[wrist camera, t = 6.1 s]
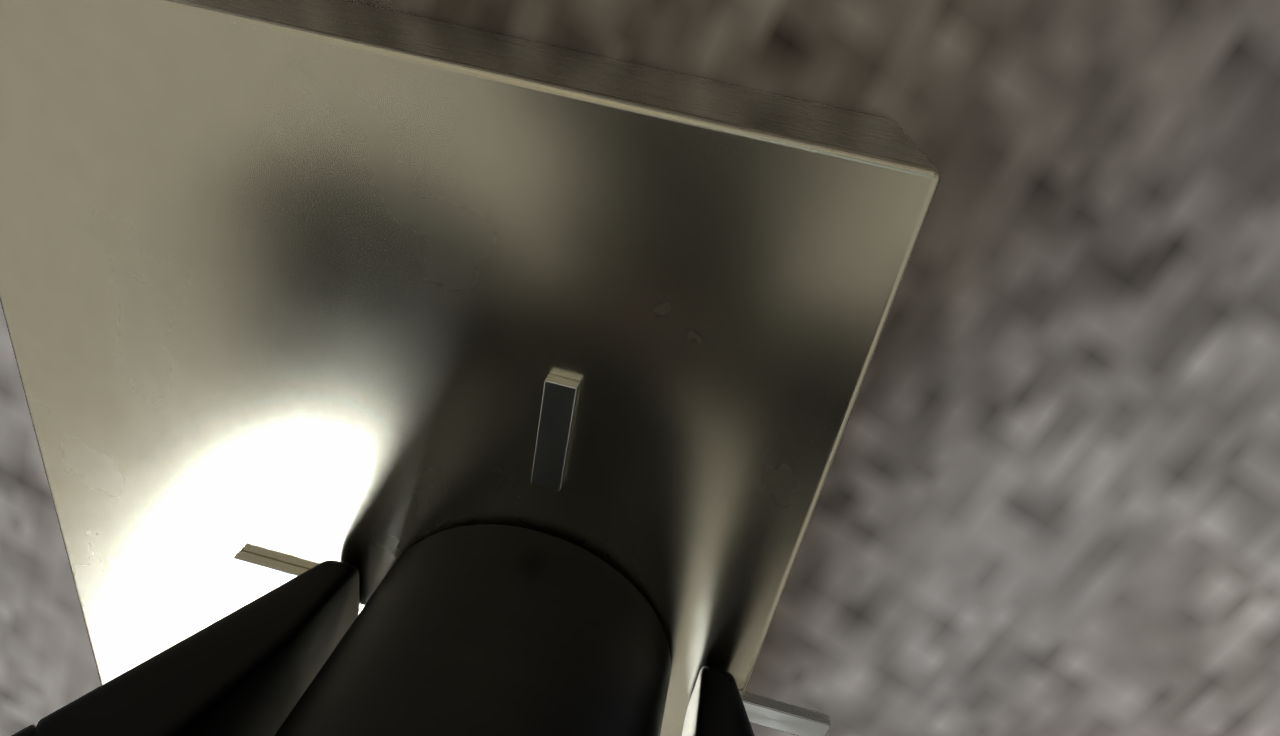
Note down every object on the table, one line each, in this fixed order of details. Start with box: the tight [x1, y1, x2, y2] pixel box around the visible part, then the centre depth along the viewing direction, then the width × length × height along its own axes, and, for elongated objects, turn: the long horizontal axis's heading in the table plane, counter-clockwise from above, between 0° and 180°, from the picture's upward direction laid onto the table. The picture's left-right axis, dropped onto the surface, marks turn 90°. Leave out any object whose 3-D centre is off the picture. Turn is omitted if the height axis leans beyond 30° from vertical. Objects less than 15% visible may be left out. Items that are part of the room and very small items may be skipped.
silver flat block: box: [0, 0, 940, 736], centre depth 11 cm, size 14×11×3 cm
